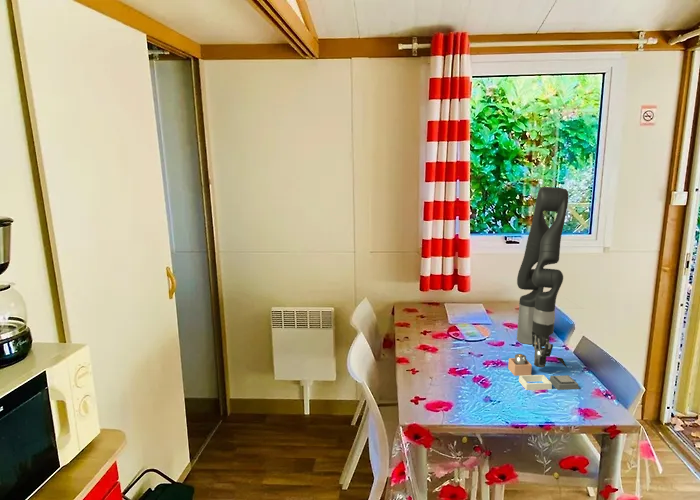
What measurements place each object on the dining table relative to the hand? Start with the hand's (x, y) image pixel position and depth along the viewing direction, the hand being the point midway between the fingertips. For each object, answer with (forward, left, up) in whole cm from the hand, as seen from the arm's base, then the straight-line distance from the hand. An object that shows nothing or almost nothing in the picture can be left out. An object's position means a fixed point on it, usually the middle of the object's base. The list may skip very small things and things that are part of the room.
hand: (539, 361), depth 188 cm
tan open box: (0, -8, -5) cm, 9 cm away
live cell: (0, 0, -1) cm, 1 cm away
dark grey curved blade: (-6, +9, -5) cm, 12 cm away
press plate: (+11, +4, -3) cm, 12 cm away
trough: (+11, -6, -5) cm, 13 cm away
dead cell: (0, -8, -4) cm, 9 cm away
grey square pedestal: (+11, +4, -5) cm, 13 cm away
